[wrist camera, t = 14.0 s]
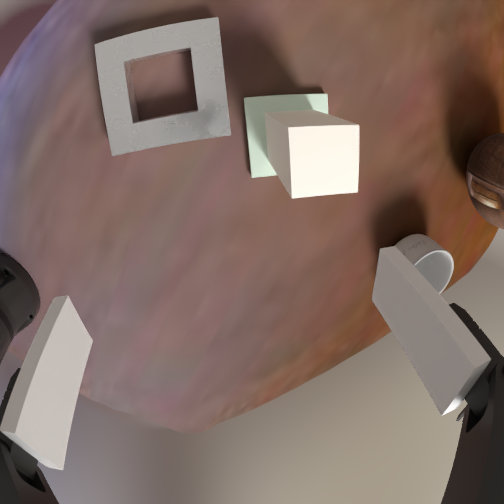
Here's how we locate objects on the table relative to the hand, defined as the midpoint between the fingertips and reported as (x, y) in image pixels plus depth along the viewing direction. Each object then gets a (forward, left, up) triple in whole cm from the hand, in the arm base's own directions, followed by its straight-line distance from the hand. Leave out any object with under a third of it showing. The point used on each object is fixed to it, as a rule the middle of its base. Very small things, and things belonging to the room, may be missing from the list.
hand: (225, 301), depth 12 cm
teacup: (+28, -21, -28) cm, 45 cm away
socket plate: (-5, +9, -28) cm, 30 cm away
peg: (+9, +1, -27) cm, 28 cm away
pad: (+9, +1, -28) cm, 29 cm away
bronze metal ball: (+43, -4, -28) cm, 51 cm away
